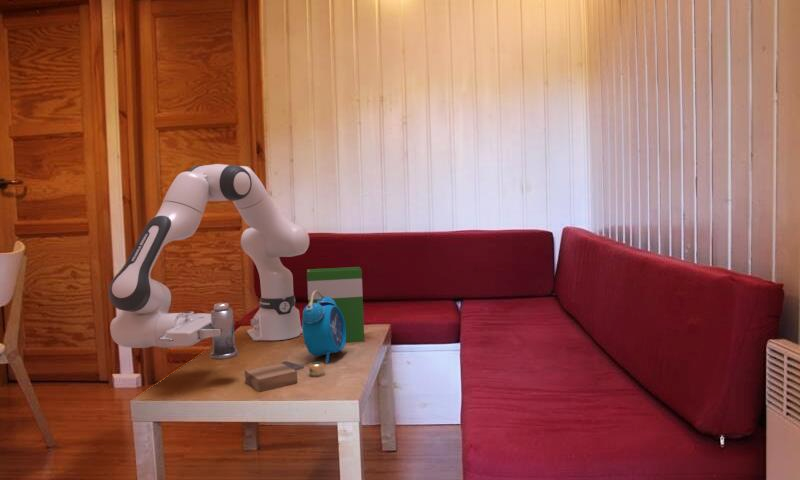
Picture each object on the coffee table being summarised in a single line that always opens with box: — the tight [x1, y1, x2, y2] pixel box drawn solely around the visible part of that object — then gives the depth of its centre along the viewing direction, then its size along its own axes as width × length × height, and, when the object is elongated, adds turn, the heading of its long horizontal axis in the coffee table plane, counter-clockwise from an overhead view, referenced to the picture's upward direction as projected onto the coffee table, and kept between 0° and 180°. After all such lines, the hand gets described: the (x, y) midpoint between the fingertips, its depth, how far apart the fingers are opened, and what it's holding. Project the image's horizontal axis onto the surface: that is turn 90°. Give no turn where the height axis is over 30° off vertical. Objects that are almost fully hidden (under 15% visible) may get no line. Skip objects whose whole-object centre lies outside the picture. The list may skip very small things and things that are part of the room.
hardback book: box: [306, 266, 365, 344], centre depth 179 cm, size 18×7×24 cm, turn 99°
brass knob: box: [308, 361, 325, 378], centre depth 143 cm, size 4×4×3 cm
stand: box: [244, 362, 298, 393], centre depth 138 cm, size 10×10×3 cm
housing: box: [209, 302, 240, 361], centre depth 140 cm, size 7×7×14 cm
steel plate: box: [281, 361, 305, 371], centre depth 150 cm, size 8×6×1 cm
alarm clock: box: [301, 290, 346, 364], centre depth 160 cm, size 17×10×20 cm, turn 168°
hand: (226, 328), depth 140 cm, fingers closed on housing, 5 cm apart
